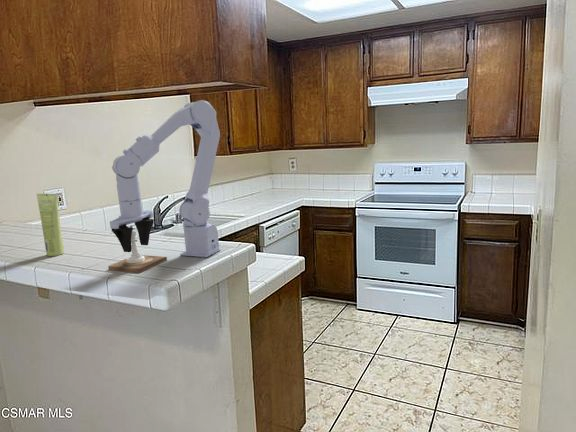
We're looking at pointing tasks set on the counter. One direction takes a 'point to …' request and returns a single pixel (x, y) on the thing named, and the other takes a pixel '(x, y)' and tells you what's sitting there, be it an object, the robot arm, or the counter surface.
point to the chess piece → (134, 251)
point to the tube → (50, 224)
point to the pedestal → (138, 264)
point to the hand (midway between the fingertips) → (136, 248)
